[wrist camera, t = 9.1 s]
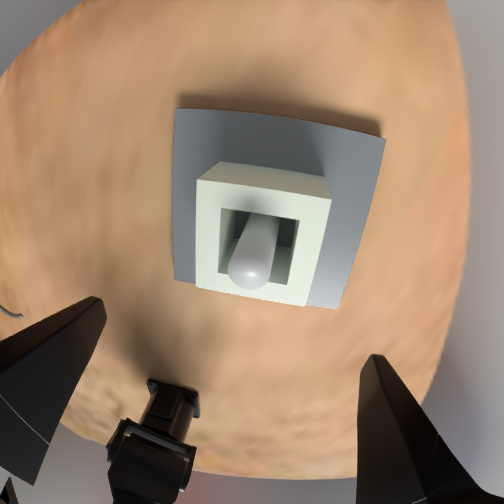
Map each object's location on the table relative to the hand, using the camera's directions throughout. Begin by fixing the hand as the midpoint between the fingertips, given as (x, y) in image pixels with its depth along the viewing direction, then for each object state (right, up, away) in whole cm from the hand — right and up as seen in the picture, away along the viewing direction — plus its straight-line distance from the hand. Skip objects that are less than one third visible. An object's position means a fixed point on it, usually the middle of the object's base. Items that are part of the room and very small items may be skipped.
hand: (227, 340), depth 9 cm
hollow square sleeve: (+2, +5, +9) cm, 10 cm away
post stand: (+2, +5, +10) cm, 11 cm away
